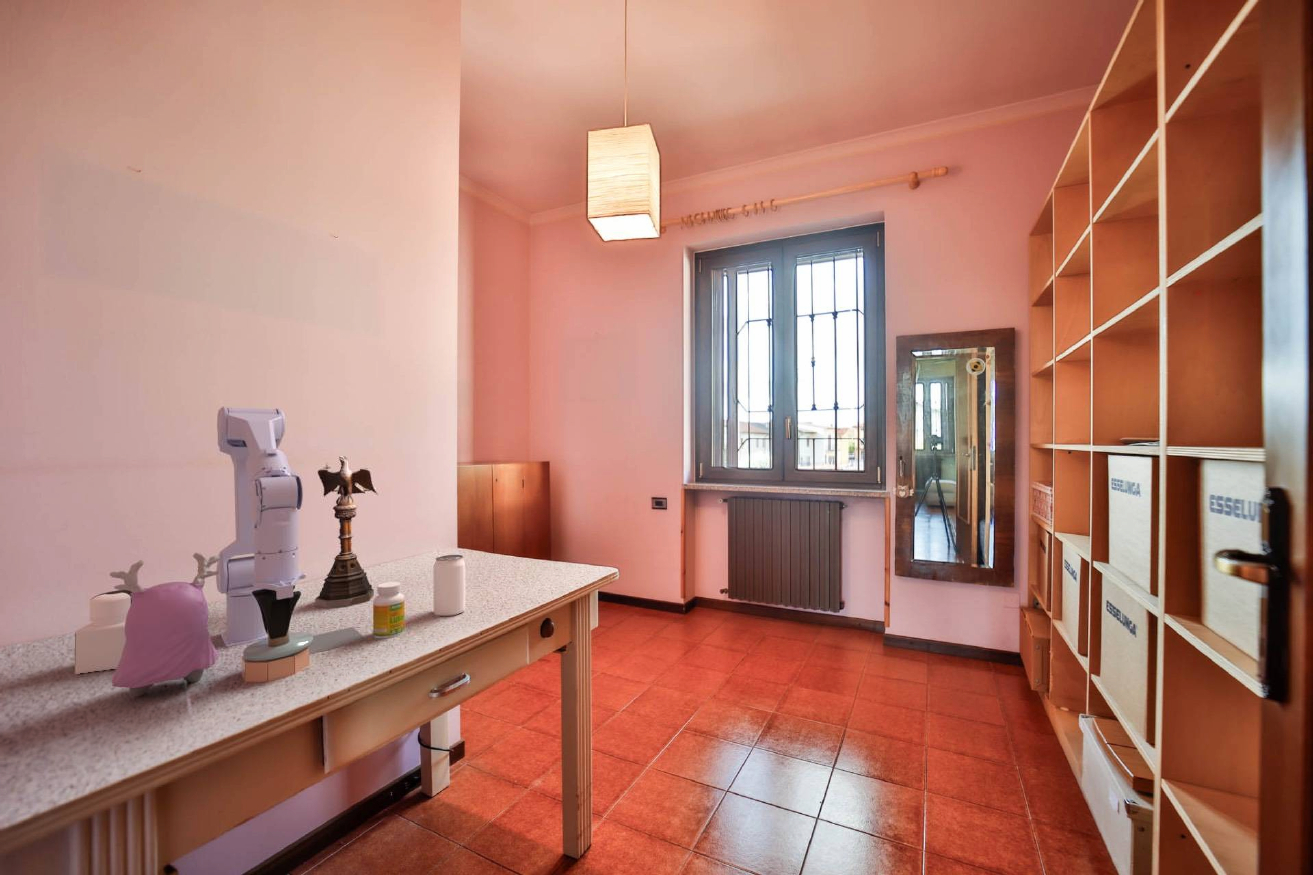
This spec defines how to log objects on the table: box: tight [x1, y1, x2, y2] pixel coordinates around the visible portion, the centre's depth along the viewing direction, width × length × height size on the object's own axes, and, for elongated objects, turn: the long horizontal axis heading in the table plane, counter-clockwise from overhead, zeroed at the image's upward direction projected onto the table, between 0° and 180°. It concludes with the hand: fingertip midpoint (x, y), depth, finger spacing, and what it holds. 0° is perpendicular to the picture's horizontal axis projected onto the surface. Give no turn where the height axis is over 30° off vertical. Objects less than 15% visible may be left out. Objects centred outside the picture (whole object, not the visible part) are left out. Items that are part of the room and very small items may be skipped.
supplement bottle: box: [372, 581, 406, 639], centre depth 100 cm, size 5×5×10 cm
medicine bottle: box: [74, 590, 132, 675], centre depth 88 cm, size 7×7×12 cm
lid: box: [242, 628, 314, 661], centre depth 84 cm, size 9×9×4 cm
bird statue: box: [314, 455, 379, 609], centre depth 126 cm, size 17×13×35 cm
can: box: [432, 554, 466, 618], centre depth 114 cm, size 6×6×12 cm
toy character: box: [109, 552, 220, 698], centre depth 79 cm, size 12×10×20 cm
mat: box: [308, 626, 368, 656], centre depth 97 cm, size 10×10×1 cm
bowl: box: [241, 647, 310, 683], centre depth 84 cm, size 8×8×3 cm
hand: (276, 634), depth 84 cm, fingers closed on lid, 3 cm apart
